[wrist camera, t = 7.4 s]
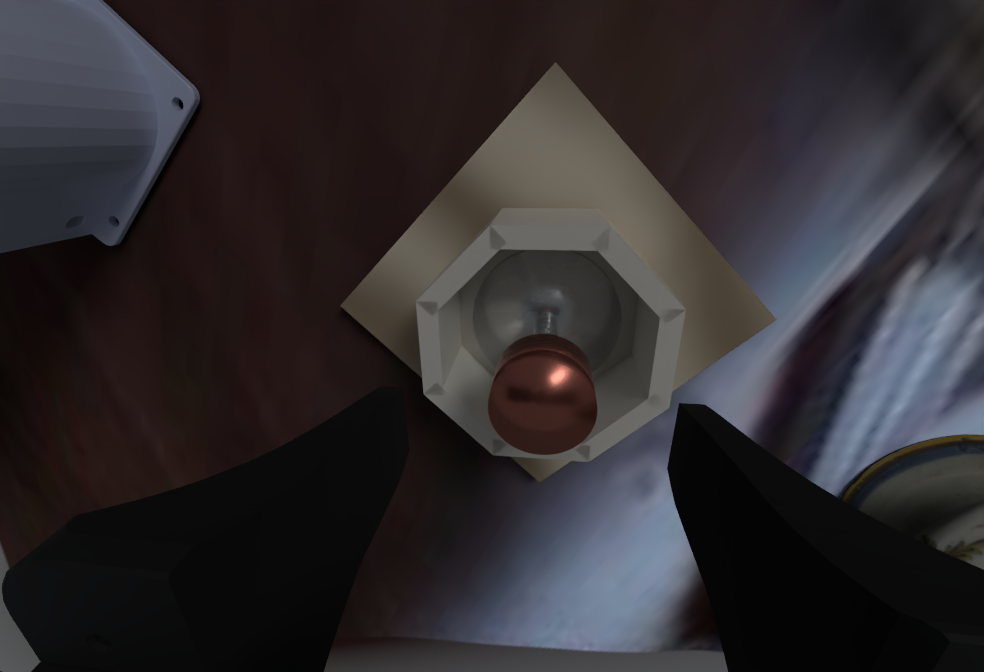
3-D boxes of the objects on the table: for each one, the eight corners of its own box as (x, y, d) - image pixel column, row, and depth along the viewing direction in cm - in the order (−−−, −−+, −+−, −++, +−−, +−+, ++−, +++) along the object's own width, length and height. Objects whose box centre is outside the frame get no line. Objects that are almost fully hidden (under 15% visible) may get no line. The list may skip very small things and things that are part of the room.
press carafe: (541, 433, 23) (538, 495, 19) (405, 307, 22) (370, 347, 17) (697, 317, 20) (735, 363, 16) (551, 156, 18) (551, 161, 14)
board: (540, 472, 25) (539, 482, 25) (347, 300, 23) (340, 305, 22) (768, 313, 20) (776, 319, 20) (555, 65, 18) (555, 61, 17)
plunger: (542, 404, 22) (537, 526, 15) (446, 313, 21) (392, 401, 14) (650, 320, 20) (703, 419, 13) (549, 213, 18) (547, 258, 11)
